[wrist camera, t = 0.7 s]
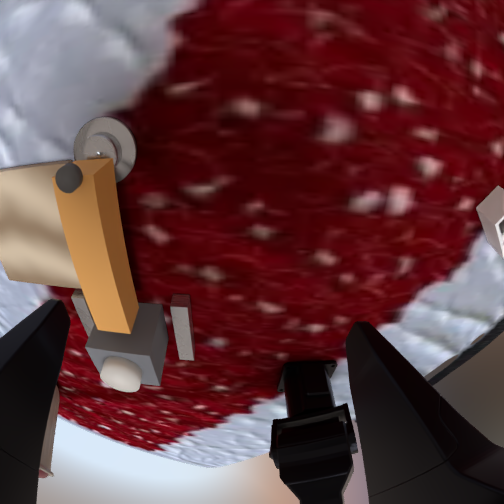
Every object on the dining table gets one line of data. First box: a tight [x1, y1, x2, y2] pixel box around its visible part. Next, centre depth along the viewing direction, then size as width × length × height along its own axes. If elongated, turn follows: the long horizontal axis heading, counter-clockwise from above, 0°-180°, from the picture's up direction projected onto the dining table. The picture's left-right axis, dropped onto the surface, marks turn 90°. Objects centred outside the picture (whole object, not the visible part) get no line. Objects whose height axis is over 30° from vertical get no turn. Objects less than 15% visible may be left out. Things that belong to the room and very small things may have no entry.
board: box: [0, 160, 82, 289], centre depth 21 cm, size 12×12×1 cm
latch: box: [52, 158, 139, 334], centre depth 18 cm, size 14×3×4 cm, turn 176°
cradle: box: [71, 117, 195, 360], centre depth 22 cm, size 24×12×2 cm, turn 176°
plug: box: [85, 303, 169, 392], centre depth 25 cm, size 5×6×8 cm
